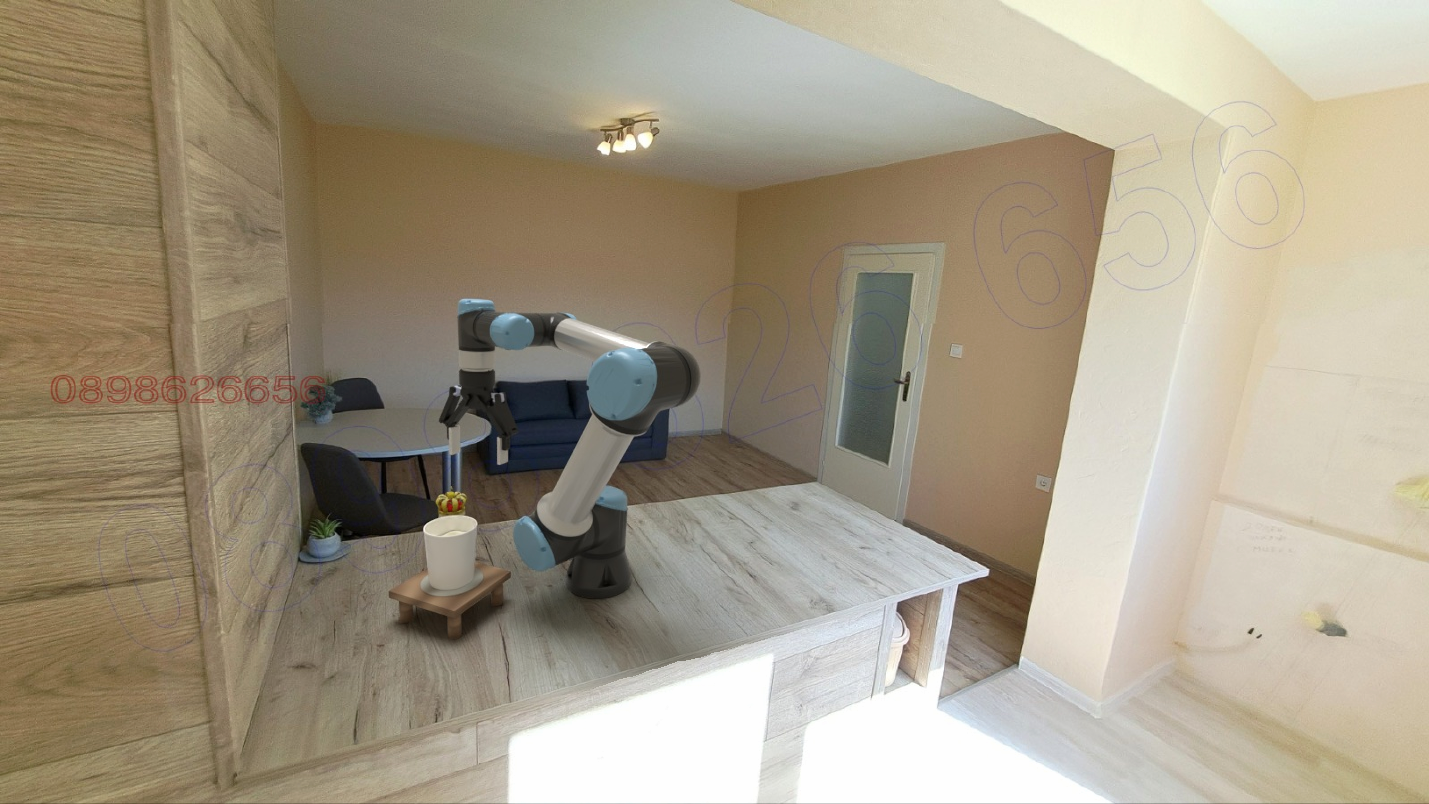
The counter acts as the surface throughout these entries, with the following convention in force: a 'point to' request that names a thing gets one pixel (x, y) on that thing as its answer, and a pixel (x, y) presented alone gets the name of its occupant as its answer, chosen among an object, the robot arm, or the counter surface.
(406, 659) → the counter surface
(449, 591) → the footstool
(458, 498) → the toy
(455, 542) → the candle holder
